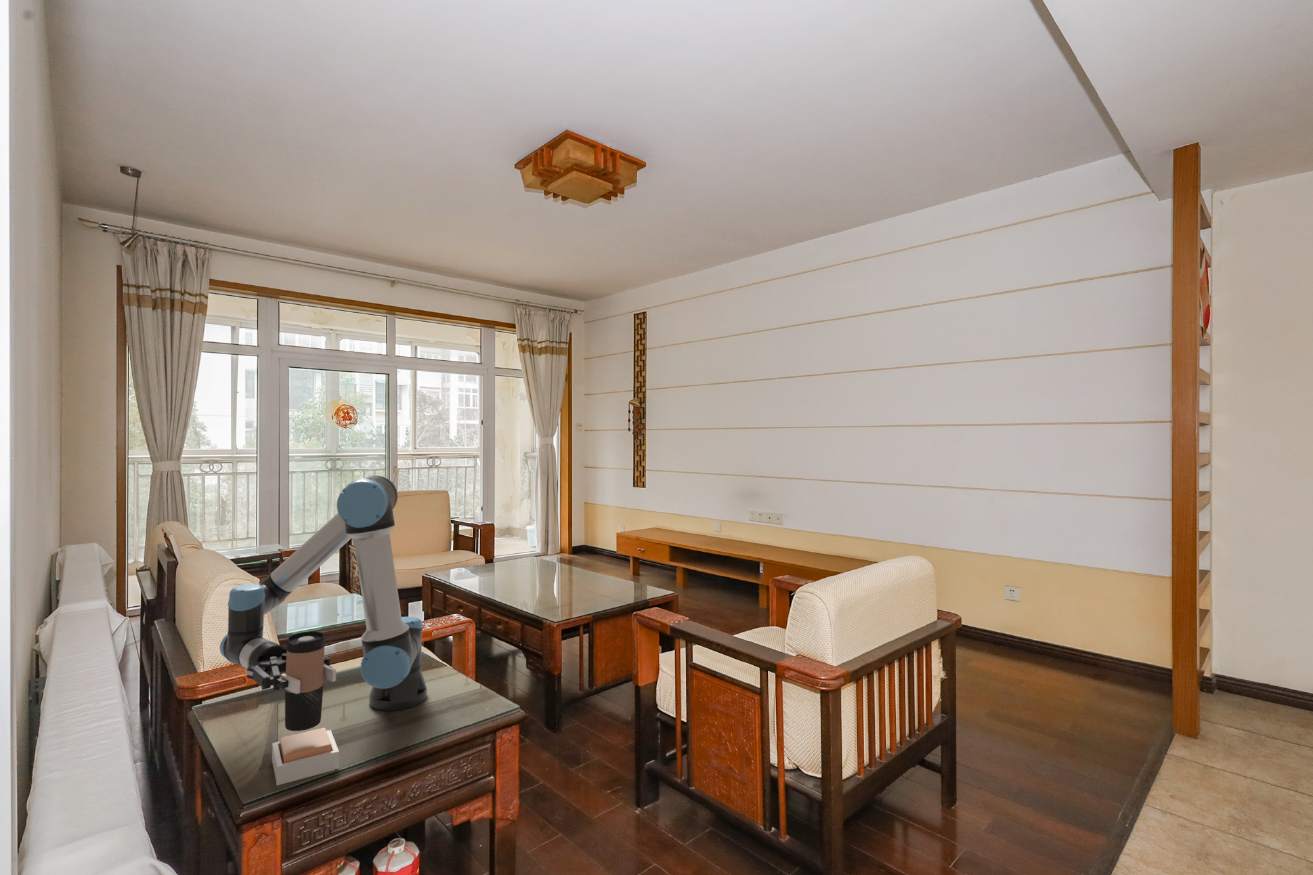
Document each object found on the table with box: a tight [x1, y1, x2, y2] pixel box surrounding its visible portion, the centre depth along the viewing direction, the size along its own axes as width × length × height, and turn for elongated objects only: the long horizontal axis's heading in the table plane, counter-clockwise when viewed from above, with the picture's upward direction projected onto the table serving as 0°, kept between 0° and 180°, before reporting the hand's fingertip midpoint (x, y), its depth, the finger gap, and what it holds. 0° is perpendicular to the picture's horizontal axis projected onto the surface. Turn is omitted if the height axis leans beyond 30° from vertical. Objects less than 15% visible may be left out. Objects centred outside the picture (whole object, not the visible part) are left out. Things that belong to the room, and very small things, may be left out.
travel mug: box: [284, 631, 326, 732], centre depth 141 cm, size 8×8×20 cm
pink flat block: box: [279, 727, 331, 763], centre depth 142 cm, size 9×9×3 cm
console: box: [271, 729, 340, 786], centre depth 142 cm, size 12×12×4 cm
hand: (316, 681), depth 139 cm, fingers closed on travel mug, 7 cm apart
